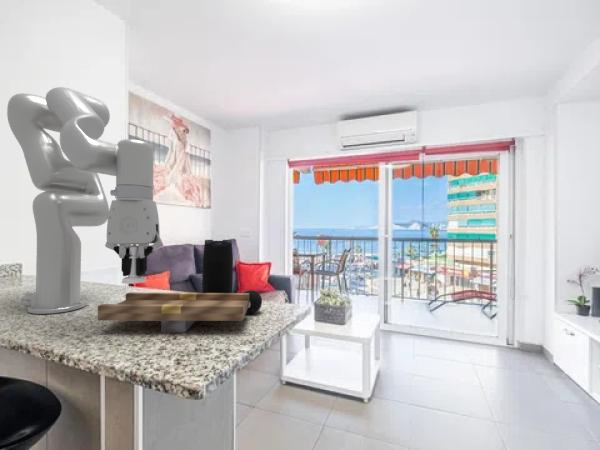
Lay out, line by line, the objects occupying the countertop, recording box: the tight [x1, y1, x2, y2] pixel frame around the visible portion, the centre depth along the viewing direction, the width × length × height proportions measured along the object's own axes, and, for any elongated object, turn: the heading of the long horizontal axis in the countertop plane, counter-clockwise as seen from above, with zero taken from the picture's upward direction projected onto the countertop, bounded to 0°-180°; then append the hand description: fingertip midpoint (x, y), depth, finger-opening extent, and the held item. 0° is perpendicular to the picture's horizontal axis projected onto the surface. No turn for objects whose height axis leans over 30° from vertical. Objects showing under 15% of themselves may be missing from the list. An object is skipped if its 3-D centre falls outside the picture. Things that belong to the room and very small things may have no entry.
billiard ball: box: [243, 289, 263, 315], centre depth 82 cm, size 6×6×6 cm
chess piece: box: [121, 244, 147, 285], centre depth 71 cm, size 5×5×10 cm
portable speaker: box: [201, 239, 234, 293], centre depth 88 cm, size 8×9×19 cm
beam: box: [97, 292, 249, 333], centre depth 72 cm, size 30×13×6 cm, turn 93°
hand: (134, 274), depth 71 cm, fingers closed on chess piece
